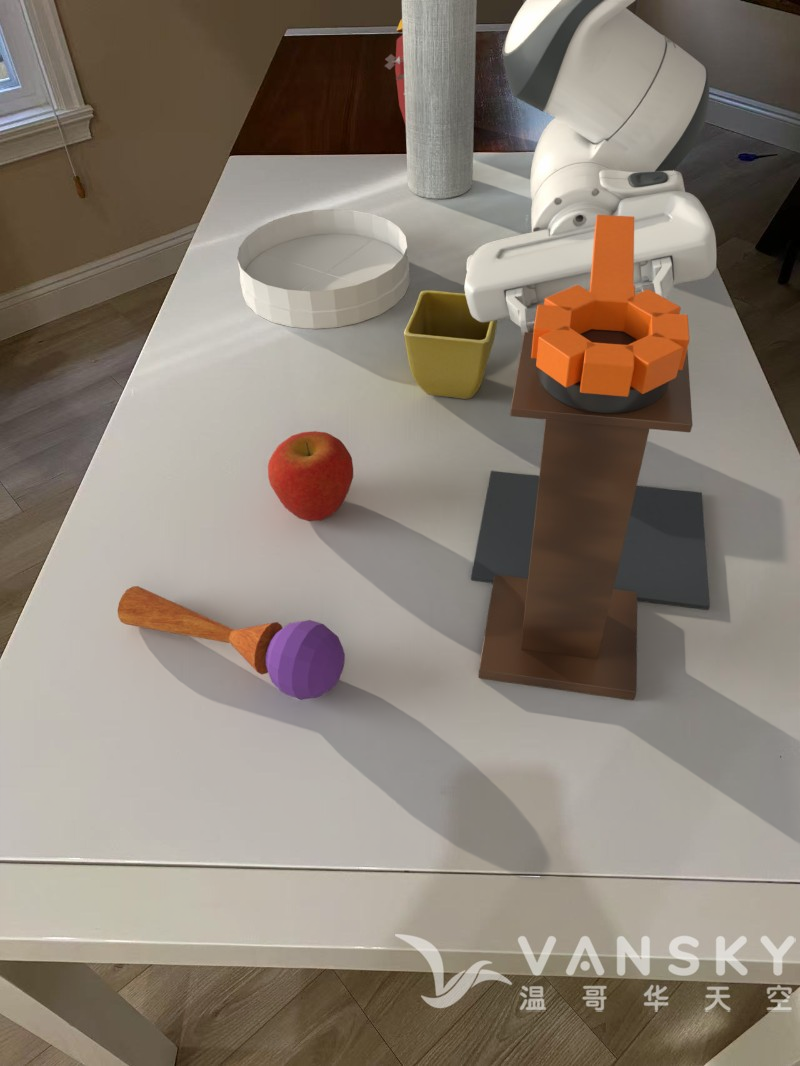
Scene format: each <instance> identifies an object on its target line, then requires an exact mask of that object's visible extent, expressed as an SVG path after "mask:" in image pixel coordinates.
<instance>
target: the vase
mask: <svg viewBox="0 0 800 1066" xmlns="http://www.w3.org/2000/svg"><path fill="white" fill-rule="evenodd" d="M477 2H478V1H477V0H401V19H402V25H403V32H402V35H403V55H404V86H405V116H406V125H405V141H406V145H405V146H406V168H407V169H406V172H407V185H408V189H409V191H411V193H413V194H415V195H416V196H418V197H421V198H425V199H434V200H443V199H445V200H446V199H452V198H456V197H459V196H462V195H463V194H465V193H466V192H468V191H470V189H471V188H472V186H473V176H474V175H473V173H474V172H473V171H474V135H475V133H474V131H475V129H474V127H475V91H476V89H475V86H476V44H477V37H476V36H477V4H478V3H477Z"/></svg>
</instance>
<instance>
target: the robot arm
mask: <svg viewBox="0 0 800 1066" xmlns="http://www.w3.org/2000/svg"><path fill="white" fill-rule="evenodd" d="M634 2H636V0H525V1H524V2H523V4H522V6H521V7H520V9H519V10H518V11H517V13H516V14H515V16H514V18H513V20H512V21H511V22H512V23H511V25H510V27H509V29H508V32H507V35H506V37H505V39H504V42H503V45H502V49H501V52H502V61H503V65H504V71H505V75H506V78H507V82H508V85H509V88H510V90H511V93H512V96H513V97H514V98H516V99H518V100H519V101H522V102H524V103H526V104H527V105H529V106H531V107H533V108H535V109H537V110H539V111H540V112H545V113H547V114H548V115H550V116H551V117H553V119H551V120H550V122H548V124H547V125H546V126H545V128H544V129H543V131H542V133H541V135H540V136H539V139H538V141H537V144H536V147H535V150H534V154H533V157H532V162H531V168H530V179H529V181H530V183H529V184H530V185H529V186H530V188H529V189H530V198H531V207H530V208H531V209H530V225H531V227H530V228H531V229H530V230H531V231H530V232H527V233H522V234H517V235H513V236H509V237H505V238H500V239H496V240H492V241H489V242H486V243H484V244H482V245H481V246H479V247H478V248H477V249H476V250H475V252H474V253H473V254H470V255H468V257H467V259H466V264H465V265H466V267H465V274H466V275H465V280H464V287H463V289H464V290H463V291H464V294H465V295H466V299H467V303H468V307H469V310H470V313H471V315H472V317H473V318H475V319H476V320H478V321H480V322H489V321H494V320H497V321H499V320H502V319H504V320H505V319H508V318H509V319H510V321H512V323H514V324H516V325H517V327H519V328H520V331H521V337H523V336H524V332H531V333H533V332H534V324H535V318H536V312H537V306H538V305H544V302H545V298H547V297H549V296H551V295H554V294H556V293H559V292H561V291H563V290H566V289H568V288H571V287H573V286H575V285H579V286H581V287H583V288H584V289H586V290H588V291H590V280H591V268H592V257H593V245H594V233H595V225H596V217H597V215H611V216H631V217H634V276H633V285H635V293H641V292H643V291H645V290H647V289H649V290H651V291H653V292H654V293H656V294H658V295H660V296H662V297H663V298H665V299H667V297H668V296H669V294H670V293H671V292H672V291H673V290H674V288H675V287H674V285H681V284H685V283H689V282H696V281H701V280H705V279H707V278H709V277H710V276H711V275H712V274H713V273H714V271H715V270H716V269H717V240H716V239H717V238H716V237H717V236H716V231H715V229H714V226H713V223H712V220H711V219H710V216H709V214H708V212H707V211H706V209H705V207H704V205H703V204H702V202H701V201H700V199H699V198H698V197H696V196H695V195H694V194H692V193H690V192H688V191H686V189H685V183H684V179H683V174H682V173H681V172H680V171H679V170H676V168H677V167H678V166H680V164H681V163H682V162H683V161H684V159H685V158H686V157H687V155H688V154H689V153H690V151H691V150H692V149H693V147H694V146H695V144H696V143H697V141H698V140H699V137H700V135H701V133H702V132H703V128H704V126H705V123H706V119H707V113H708V107H709V102H710V101H709V100H710V76H709V72H708V68H707V67H706V65H705V64H702V63H701V62H700V61H699V60H697V59H696V58H694V57H693V56H692V55H691V54H690V53H688V52H687V51H686V50H684V49H683V48H682V47H681V46H679V45H678V44H676V42H674V41H673V40H671V39H670V38H668V36H666V35H664V34H661V33H660V32H659V31H657V30H656V29H655V28H654V27H652V26H651V25H649V24H648V23H646V22H645V21H644V20H643V19H641V18H640V17H639V16H638V15H636V14H634V13H633V12H632V11H631V10H629V9H628V7H629V6H630V5H631V4H633V3H634Z"/></svg>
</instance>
